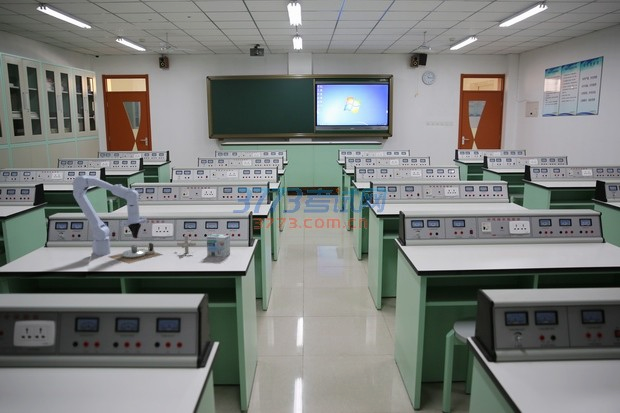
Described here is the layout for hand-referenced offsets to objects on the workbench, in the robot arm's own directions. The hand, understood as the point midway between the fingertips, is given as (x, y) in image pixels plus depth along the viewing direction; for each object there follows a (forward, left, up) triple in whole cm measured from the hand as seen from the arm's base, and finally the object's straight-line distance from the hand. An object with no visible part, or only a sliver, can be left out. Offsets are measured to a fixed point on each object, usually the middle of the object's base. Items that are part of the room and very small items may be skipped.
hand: (135, 237), depth 239 cm
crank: (+6, -2, -8) cm, 10 cm away
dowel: (+7, +4, -8) cm, 11 cm away
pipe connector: (+20, +18, -10) cm, 29 cm away
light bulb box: (+37, +26, -10) cm, 46 cm away
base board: (+5, -4, -9) cm, 11 cm away
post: (+5, -4, -6) cm, 9 cm away
